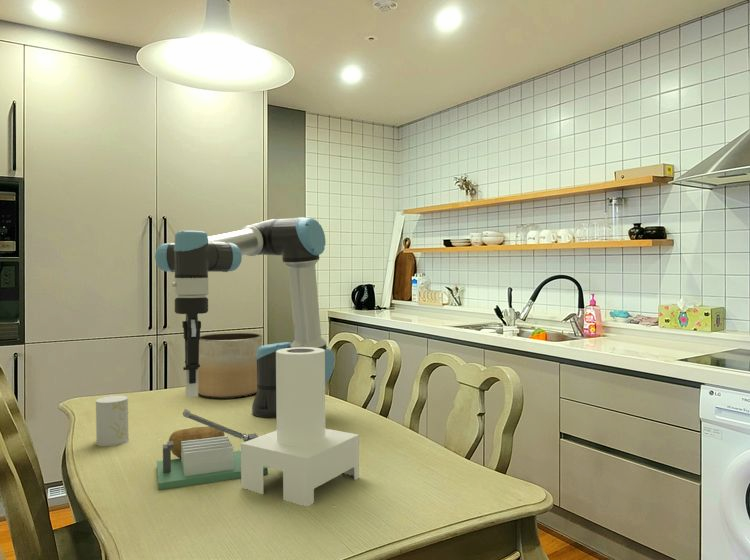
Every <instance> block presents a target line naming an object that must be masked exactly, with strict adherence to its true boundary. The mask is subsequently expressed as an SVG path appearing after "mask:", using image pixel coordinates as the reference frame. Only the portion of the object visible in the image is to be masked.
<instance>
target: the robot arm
mask: <svg viewBox="0 0 750 560" xmlns="http://www.w3.org/2000/svg"><path fill="white" fill-rule="evenodd" d="M325 248H326V235H325V231H324V229H323V227H322V225H321V224H320V222H319V221H318V220H317V219H315V218H312V217H301V216H300V217H294V218H271V219H268V220H264V221H260V222H256V223H252V224H248V225H245V226H243V227H241V228H240V229H239V230H235V231H230V232H226V233H221V234H216V235H208V233H207V232H206V231H203V230H180V231H176V233H175V235H174V242H169V243H162V244H160V245H159V246H158V247H157V248H156V250H155V254H154V258H155V263H156V266H157V267H158V268H159V269H160V270H161V271H164V272H168V273H170V272H171V273H174V282H172V283H171V286H172V287H174V295H175V296H177V297H175V298H174V313H175V314H177V315H185V320H182V322H181V323H182V326H181V327H182V328H183V339H184V358H185V359H184V364H185V365H184V366H183V371H185V398H197V397H199V393H198V368H199V367H200V364H199V340H200V336H201V329H202V322H201V320H199V316H198V314H199V315H200V314H201V315H202V314H206V313H208V312H209V298H208V297H206V296H208V295H209V273H210V272H212V273H213V272H219V273H220V272H222V273H229V272H233V271H236V270H238V268H239V267H240V265H241V264H242V257H243V256H248V257H254V256H259V255H260V256H261V255H262V256H263V255H264V256H281V257H282V263H283V264H284V265H285V266H287V269H288V280H289V292H290V302H291V312H292V322H293V335H294V340H293V342H290V341H284V342H277V343H270V344H268V343H267V344H265V345H264V344H262V346H260V347H259V348H258V350H257V358H256V360H257V392H256V394H255V396H254V399H253V402H252V406H251V414H252V415H253V416H256V417H260V418H277V414H276V351H277V350H279V349H285V348H295V347H314V348H321V349H324V350H325V384H326V383H327V382H328V381H329V380H330V378H331V376H332V375H333V372H334V369H335V364H336V363H335V361H336V359H335V358H336V357H335V354H334V351H333V350H332V349H330V348H327V341H326V340H325V339H324V338H323V337H322V332H321V319H320V317H321V316H320V307H319V295H318V294H319V293H318V284H317V270H316V268H317V267H316V265H317V263H318V262H319V261H320V256H321V255H322V254H323V252H324V251H325Z"/></svg>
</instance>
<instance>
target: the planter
mask: <svg viewBox="0 0 750 560" xmlns="http://www.w3.org/2000/svg"><path fill="white" fill-rule="evenodd" d="M260 346H263V335H262V334H260V333H255V332H224V333H221V332H220V333H211V334H209V333H208V334H204V335H200V340H199V364H200V367H199V368H198V395H201V396H202V397H206V398H209V397H211V399H234V398H233V397H238V398H242V397H241V396H245V397H248V395H249V396H252V394H253V395H256V394H255V393H256V392H257V360H256V358H257V350H258V348H259V347H260Z"/></svg>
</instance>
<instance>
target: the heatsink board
mask: <svg viewBox="0 0 750 560" xmlns="http://www.w3.org/2000/svg"><path fill="white" fill-rule="evenodd" d="M247 437H248V441H249V440H252V439H254V438H257V437H259V436H258V434H257V433H255V432H254V433H248V434H247ZM172 447H173V441H169V440H168V441H167V442H166V443H165V444H162V460H159V461H158V460H156V471H157V473H156V475H157V484H158V490H159V491H161V490H167V489H168V490H169V489H174V488H175V489H176V488H182V487H189V486H196V485H201V484H202V485H203V484H209V483H216V482H221V481H229V480H234V479H235V480H237V479H241V450H236V451H235V450H234V446H233V443H231V441H230V438H229V436H228V435H225V436H223V437H214V438H206V439H197V440H189V441H181V458H173V459H171V453H172V451H171V448H172ZM268 469H269V467H266V466H263V475H268V473H269V470H268Z"/></svg>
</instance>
